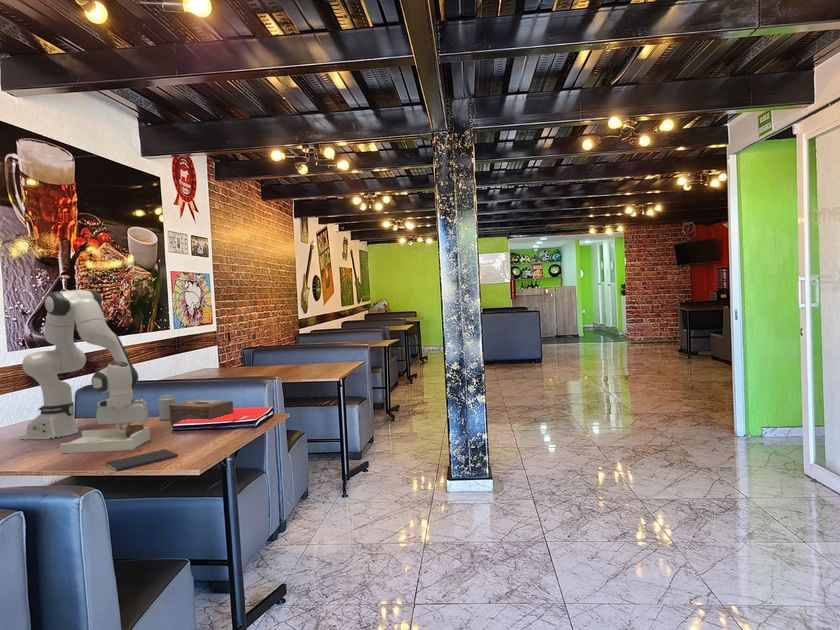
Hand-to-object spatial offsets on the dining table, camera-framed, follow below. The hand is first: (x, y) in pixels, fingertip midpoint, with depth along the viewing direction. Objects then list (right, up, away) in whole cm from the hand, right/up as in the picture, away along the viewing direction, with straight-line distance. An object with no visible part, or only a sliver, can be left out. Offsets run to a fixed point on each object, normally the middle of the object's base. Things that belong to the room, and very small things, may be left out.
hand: (123, 433), depth 237 cm
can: (-2, -3, +47) cm, 47 cm away
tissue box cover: (+20, -3, +33) cm, 39 cm away
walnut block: (+5, -1, 0) cm, 5 cm away
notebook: (+22, -5, -29) cm, 36 cm away
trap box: (-5, -5, -4) cm, 8 cm away
